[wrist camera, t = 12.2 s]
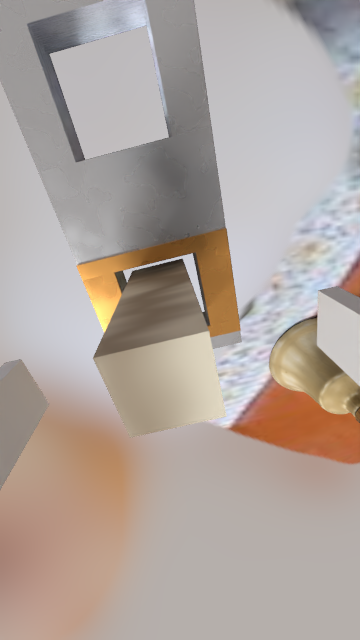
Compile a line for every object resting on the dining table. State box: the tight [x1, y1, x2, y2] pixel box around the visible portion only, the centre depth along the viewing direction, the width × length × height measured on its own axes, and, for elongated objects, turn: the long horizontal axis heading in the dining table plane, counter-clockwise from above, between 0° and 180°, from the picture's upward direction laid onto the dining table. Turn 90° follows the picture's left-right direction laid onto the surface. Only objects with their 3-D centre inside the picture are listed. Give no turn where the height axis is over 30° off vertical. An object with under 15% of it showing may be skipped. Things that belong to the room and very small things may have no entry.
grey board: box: [0, 0, 242, 349], centre depth 16 cm, size 10×22×3 cm, turn 13°
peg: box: [93, 259, 226, 437], centre depth 14 cm, size 4×4×12 cm
